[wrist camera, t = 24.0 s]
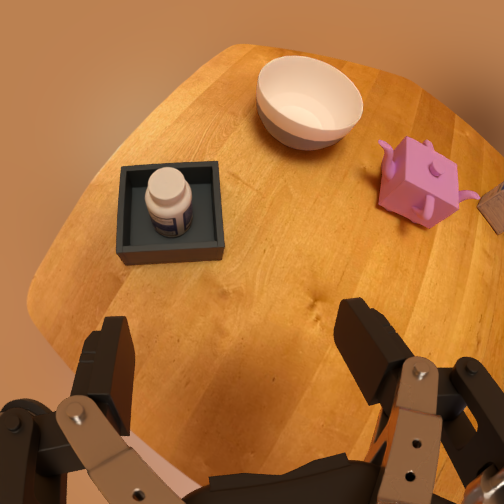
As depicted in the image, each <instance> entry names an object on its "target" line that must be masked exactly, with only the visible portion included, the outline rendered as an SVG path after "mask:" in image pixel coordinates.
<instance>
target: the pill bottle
mask: <svg viewBox="0 0 504 504" xmlns="http://www.w3.org/2000/svg"><path fill="white" fill-rule="evenodd" d="M145 201H146V205H147V208H148V211H149V214H150V217H151V220H152V223H153V226H154V228H155V230H156V231H157V232H158V233H159V234H161V235H163V236H165V237H178V236H180V235H182V234H184V233H185V232H186V231H187V230H188V229H189V228H190V226H191V224H192V217H193V214H192V192H191V188H190V186H189V184H188V183H187V181H186V180H185V179H184V176H183V174H182V173H181V172H180V171H179V170H177V169H175V168H171V167H164V168H161V169H158V170H156V171H155V172H154V173H153V174H152V175H151V176H150V178H149V181H148V187H147V190H146V193H145Z"/></svg>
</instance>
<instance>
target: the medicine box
mask: <svg viewBox="0 0 504 504" xmlns="http://www.w3.org/2000/svg"><path fill="white" fill-rule="evenodd" d="M477 208H478V209H479V210H480V212H481V213H482V214H483V215H484V217H485V218H486V219H487V221H488V222H489V223H490V225H491V226H492V227H493V229H494V230H495V231H496V233H497V234H498V235H499V234H501V233H503V232H504V182H502V183H501V184H499V185H498V186H496V187H495V188H494V189H492V190H491V191H489V192H488V193H486V194H485V195H483V196H482V198H481V200H480V202H479V204H478V206H477Z"/></svg>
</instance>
